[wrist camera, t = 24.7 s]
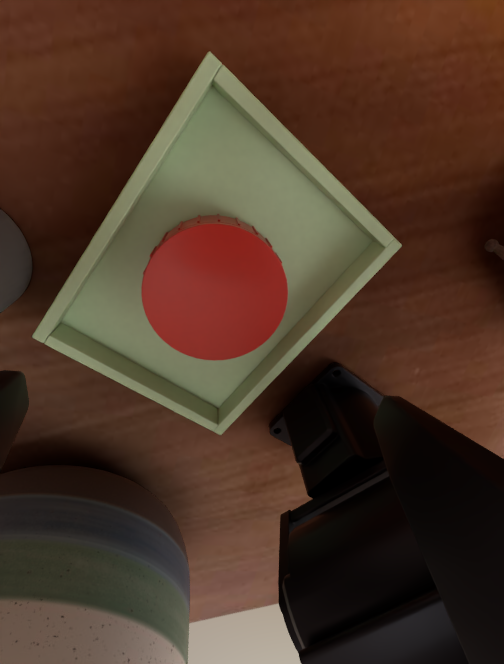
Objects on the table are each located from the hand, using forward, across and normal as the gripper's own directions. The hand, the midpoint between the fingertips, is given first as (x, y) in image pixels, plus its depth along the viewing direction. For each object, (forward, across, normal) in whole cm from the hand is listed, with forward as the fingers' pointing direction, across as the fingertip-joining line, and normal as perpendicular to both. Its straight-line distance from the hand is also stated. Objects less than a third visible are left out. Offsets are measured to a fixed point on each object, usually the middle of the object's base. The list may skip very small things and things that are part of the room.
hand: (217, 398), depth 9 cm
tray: (+10, 0, 0) cm, 10 cm away
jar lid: (+8, 0, 0) cm, 8 cm away
